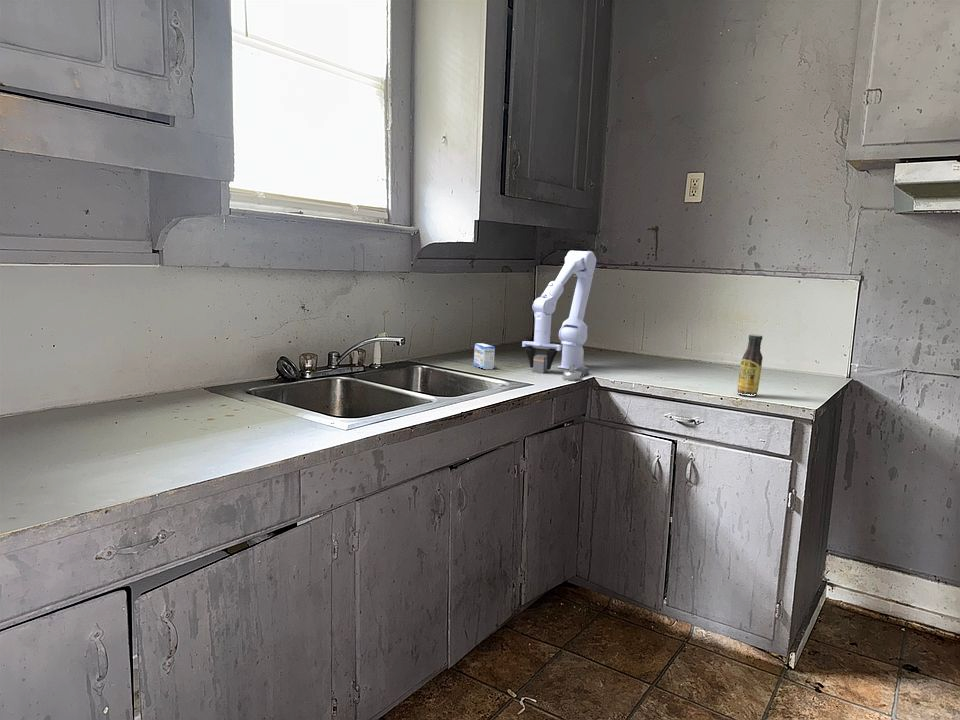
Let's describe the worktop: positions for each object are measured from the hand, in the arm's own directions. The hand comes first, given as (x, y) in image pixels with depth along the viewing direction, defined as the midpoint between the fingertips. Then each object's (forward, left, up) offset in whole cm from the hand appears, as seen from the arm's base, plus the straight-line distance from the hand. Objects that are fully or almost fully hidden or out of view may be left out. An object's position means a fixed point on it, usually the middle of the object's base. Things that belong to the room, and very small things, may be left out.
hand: (540, 368), depth 241 cm
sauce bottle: (-6, +70, -2) cm, 70 cm away
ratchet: (0, +14, -1) cm, 14 cm away
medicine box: (+6, -20, -2) cm, 21 cm away
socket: (0, 0, -1) cm, 1 cm away
